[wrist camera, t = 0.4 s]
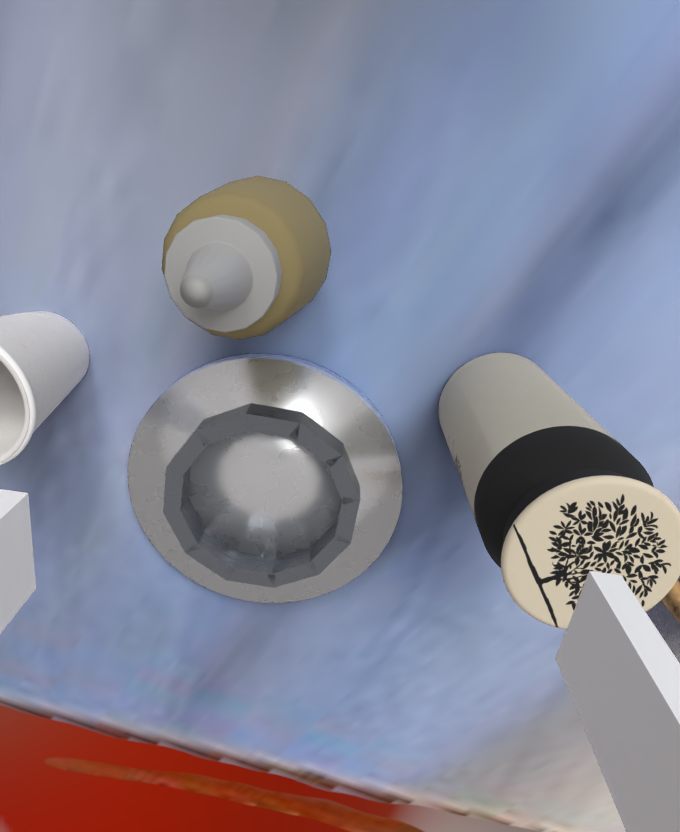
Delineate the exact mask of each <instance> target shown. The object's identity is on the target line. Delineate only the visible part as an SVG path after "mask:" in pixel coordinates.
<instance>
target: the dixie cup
mask: <svg viewBox="0 0 680 832" xmlns="http://www.w3.org/2000/svg"><path fill="white" fill-rule="evenodd" d="M89 357H90V354H89V349H88V345H87V343H86V340H85V338H84V337H83V335H82V334H81V332H80V331H79V330H78V328H77V327H76V326H75V325H74V324H72V323H71V322H70V321H69V320H67V319H66V318H64V317H62V316H60V315H58V314H55V313H52V312H46V311H36V312H25V313H18V314H12V315H6V316H0V465H2V464H5V463H7V462H9V461H10V460H12V459H13V458H15V457H16V456H17V455H18V454H19V453H21V451H22V450H23V449H24V448H25V447H26V445H27V444H28V442H29V440H30V438H31V436H32V434H33V432H34V431H35V430H36V429H37V428H38V427H39V426H40V425H41V424H42V422H43V421H44V420H45V419H46V418H47V417H48V416H49V415H50V414H51V413H52V411H53V410H54V409H55V408H56V407H57V406H58V405H59V404H60V403H61V402H62V400H63V399H64V398H65V397H66V396H67V395H68V394H69V393H70V392H71V391H72V389H73V388H74V387H75V386H76V385H77V384H78V383H79V382H80V381H81V380H82V378H83V377H84V376H85V374H86V372H87V369H88V366H89Z"/></svg>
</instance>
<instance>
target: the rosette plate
mask: <svg viewBox="0 0 680 832" xmlns="http://www.w3.org/2000/svg"><path fill="white" fill-rule="evenodd" d="M128 487H129V492H130V498H131V502H132V505H133V508H134V511H135V514H136V517H137V519H138V521H139V523H140V525H141V527H142V529H143V531H144V533H145V534H146V536H147V537H148V539H149V540H150V542H151V543H152V545H153V546H154V547H155V548H156V549H157V551H158V552H159V553H160V554H161V555H162V556H163V557H164V558H165V559H166V560H167V561H168V562H169V563H170V564H171V565H172V566H173V567H174V568H176V569H177V570H178V571H180V572H181V573H182V574H184V575H185V576H186V577H188V578H189V579H191V580H193V581H195V582H196V583H198V584H200V585H202V586H204V587H206V588H208V589H210V590H213V591H215V592H217V593H220V594H223V595H226V596H229V597H232V598H236V599H241V600H246V601H252V602H261V603H286V602H296V601H302V600H306V599H311V598H315V597H318V596H321V595H323V594H326V593H329V592H331V591H333V590H336V589H338V588H340V587H342V586H344V585H345V584H347V583H348V582H350V581H352V580H353V579H355V578H356V577H358V576H359V575H360V574H361V573H362V572H364V571H365V570H366V569H367V568H368V567H369V566H370V565H371V564H372V563H373V562H374V561H375V560H376V559H377V558H378V556H379V555H380V554H381V552H382V551H383V549H384V548H385V547H386V545H387V544H388V542H389V540H390V538H391V536H392V534H393V532H394V530H395V527H396V524H397V521H398V518H399V515H400V510H401V504H402V489H403V482H402V474H401V467H400V461H399V456H398V452H397V449H396V445H395V442H394V440H393V437H392V435H391V433H390V430H389V428H388V426H387V425H386V423H385V421H384V420H383V418H382V417H381V415H380V413H379V412H378V411H377V409H376V408H375V407H374V406H373V405H372V403H371V402H370V401H369V400H368V399H367V398H366V397H365V396H364V395H363V394H362V393H361V392H360V391H359V390H358V389H357V388H355V387H354V386H353V385H352V384H350V383H349V382H347V381H346V380H345V379H343V378H342V377H340V376H339V375H337V374H335V373H333V372H331V371H329V370H328V369H326V368H324V367H322V366H319V365H316V364H314V363H311V362H308V361H306V360H302V359H298V358H294V357H290V356H285V355H276V354H243V355H237V356H230V357H226V358H223V359H219V360H216V361H212V362H210V363H208V364H205V365H203V366H201V367H199V368H196V369H194V370H193V371H191V372H190V373H188V374H186V375H185V376H183V377H182V378H180V379H179V380H178V381H177V382H175V383H174V384H173V385H172V386H171V387H169V388H168V389H167V390H166V391H165V392H164V393H163V394H162V395H161V396H160V398H159V399H158V400H157V401H156V402H155V403H154V404H153V405H152V407H151V408H150V409H149V410H148V412H147V414H146V415H145V417H144V418H143V420H142V421H141V423H140V425H139V427H138V429H137V432H136V434H135V436H134V439H133V442H132V446H131V450H130V453H129V462H128Z"/></svg>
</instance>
